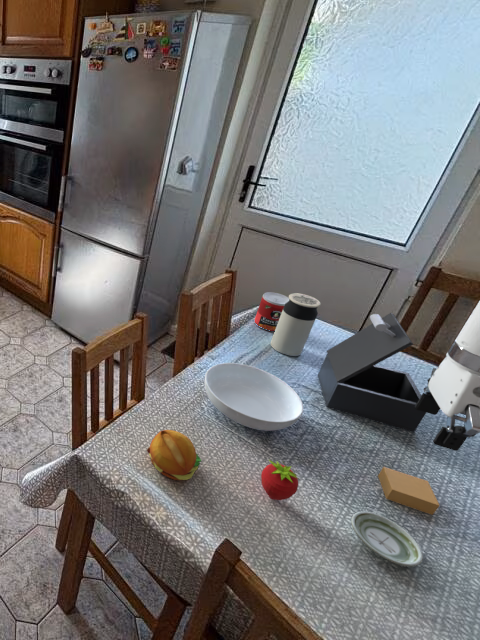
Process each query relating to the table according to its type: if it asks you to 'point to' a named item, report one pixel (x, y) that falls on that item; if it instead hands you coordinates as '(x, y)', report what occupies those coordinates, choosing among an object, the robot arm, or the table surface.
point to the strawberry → (279, 481)
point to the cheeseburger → (174, 455)
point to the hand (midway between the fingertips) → (434, 428)
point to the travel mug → (295, 324)
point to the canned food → (270, 310)
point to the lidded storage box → (374, 395)
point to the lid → (368, 347)
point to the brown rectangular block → (408, 490)
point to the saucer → (386, 539)
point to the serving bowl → (252, 396)
